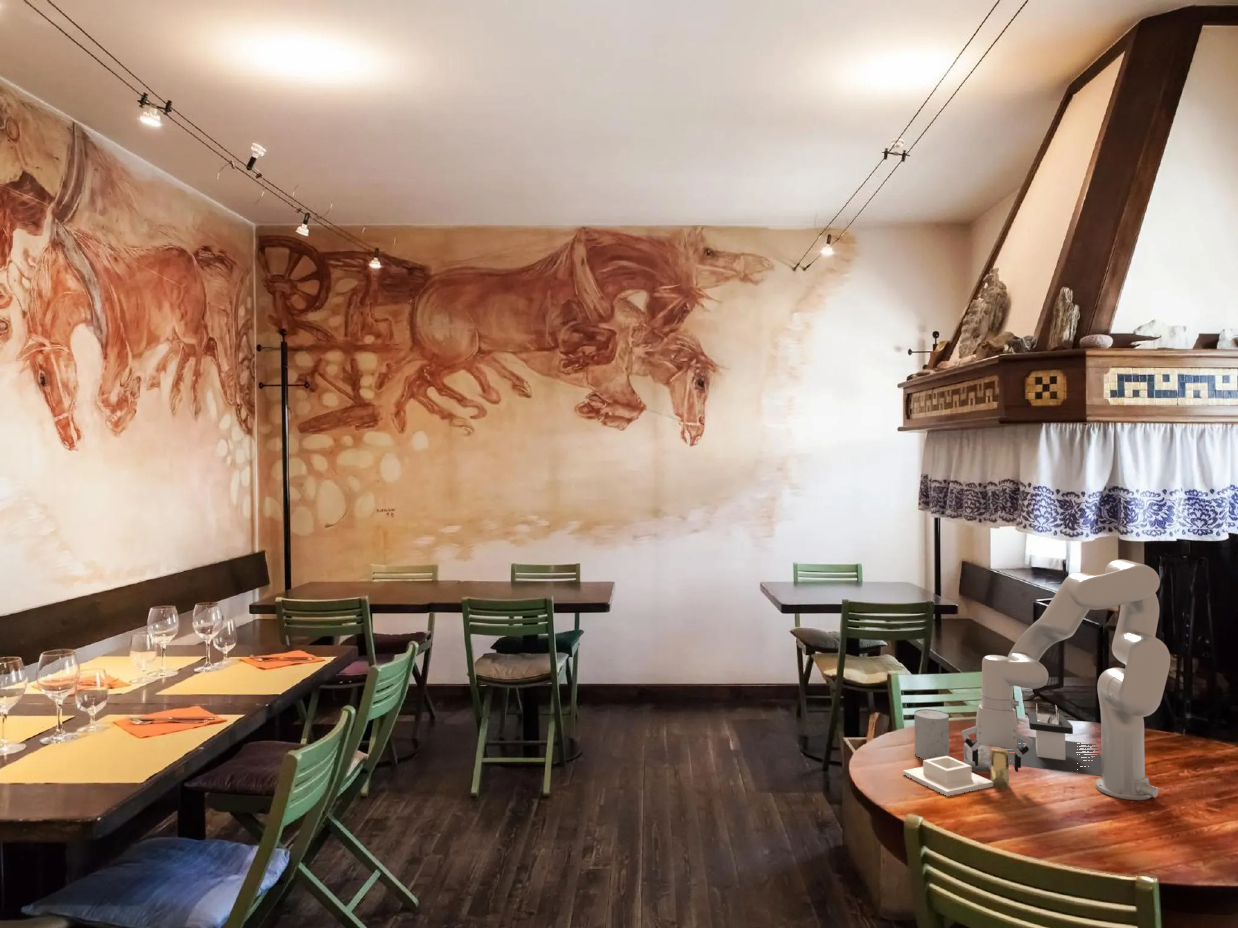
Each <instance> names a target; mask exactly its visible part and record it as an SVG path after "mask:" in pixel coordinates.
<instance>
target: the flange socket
mask: <svg viewBox="0 0 1238 928" xmlns="http://www.w3.org/2000/svg"><path fill="white" fill-rule="evenodd" d="M972 771H973V770H972V766H970V765H968V764H966V763H964V761H962V760H961V761H960V760H958V759H956V758H954V757H951V756H950V755H949V756H942V757H937V758H932V759H927V760H923V759H922V766H918V767H915V768H909V769H903V770H902V775H903V776H904V775H906V776H907V777H906V776H905V777H906V778H908V777H909V779H910V778H912V779H911V780H913V781H915V782H917V783H918V784H920V785H923V786H925V787H927V786H928V787H927V788H929V789H931V790H933V789H934V790H933V791H935V792H937V793H939V792H940V794H941V795H943V794H944V795H943V796H945V795H946V796H945V797H951V796H950V795H952V796H956V795H959V794H965V793H970V792H973V791H978V789H979V790H983V789H988V788H991V787H994V786H993V782H992V781H991V779H988V778H986V777H983V776H981V775H979V774H976V773H974V772H972ZM969 791H970V792H969ZM964 792H965V793H964ZM954 794H955V795H954Z"/></svg>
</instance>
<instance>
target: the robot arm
mask: <svg viewBox="0 0 1238 928" xmlns="http://www.w3.org/2000/svg"><path fill="white" fill-rule="evenodd" d="M1160 582H1161V580H1160V576H1159V575H1158V573H1157V571H1156V570H1155V569H1154V568H1152V567H1150V566H1149V565H1147V564H1142V563H1139V562H1136V561H1132V560H1128V559H1115V560H1112V561H1110V562H1109V563H1108V564H1107V565H1106V567H1105V571H1104V573H1103V574H1098V575H1092V574H1089V573H1087V572H1073V573H1071V574H1069V575H1068V576H1067V577H1065V579H1064V580H1063V582H1062V583H1061V585H1060V586H1059V588H1058V590H1056V592H1055V594H1054V596H1053V597H1052V599H1051V600H1050V602H1049V604H1048V605H1047V607H1046V609H1044V611H1043V613H1042V615H1041V616H1040V617H1039V619H1037V620H1035V622H1033V624H1031V625H1030V626H1029V627H1028V628H1026V630H1025V631H1024V632H1023V633H1021V635H1020V636H1019V638H1018V639H1017V640H1016V642H1015V644H1013V646H1012V647H1011V650H1010V651H1009V653H1008V655H1007V656H1005V655H997V654H988V655H985V656H984V657H983V658H982V661H981V703H980V704H978V707H977V711H976V717H975V725H974V726H972V727H968V728H965V729H963V730H961V736H962V738H963V740H964V741H965V742H964V743H967V744H968V746H969V747H970V748H971V749H972V761H974V762H975V766H978V748H979V747H980V746H981V745H986V746H990V747H994V748H995V747H996V748H1000V749H1001V748H1009V749H1013V751H1014V752H1015V754H1014V766H1013V767H1014V771H1015V772H1017V773H1018V772H1019V769H1020V768H1022V766H1021V757H1022V755H1024V754H1025V753H1026V752H1028V751H1029V748H1030V747H1031V746H1032V744H1033V740H1032V739H1030V738H1028V737H1027V736H1028V735H1025V734H1023V733H1022V732H1020V731H1018V718H1017V711H1016V708H1014V707H1019V706H1020V702H1019V700H1015V699H1014V698H1013V697H1014V695H1013V693H1014V687H1019V688H1024V689H1029V690H1030V689H1031V690H1036V689H1040V688H1042V687H1044V686H1045V685H1047V683H1048V680H1049V672H1048V670H1047V668H1046V667H1045V666H1044V664H1042V663H1041V662H1040V659H1041V658H1042V656H1043V655H1044V654H1045V653H1046V651H1047V650H1048V649H1049V648H1050V647H1051V646H1053V645H1054V644H1056V643H1058V642H1061V641H1064V640H1066V639H1069V638H1071V637H1073V636H1074V634H1075V633H1076V631H1077V629H1078V628H1079V627H1080V625H1081V624H1082V622H1083V620H1084V618H1085V617H1086V616H1087V614H1088V613H1089V611H1090V610H1098V611H1099V610H1104V609H1105V610H1106V609H1110V608H1115V607H1118V606H1120V609H1119V610H1120V611H1119V616H1118V620H1117V624H1116V628H1115V633H1114V634H1113V635H1114V636H1113V640H1112V645H1111V651H1112V654H1113V656H1114V657H1115V658H1116V660H1117V661H1119V662H1120V663H1122V664H1124V665H1125V668H1122V667H1112V668H1108V669H1105V670H1104V671H1103V672H1102V673H1101V674H1100V675H1099V678H1098V680H1097V685H1096V687H1097V695H1098V701H1099V702H1098V703H1099V709H1100V724H1101V725H1100V727H1101V728H1100V734H1101V735H1100V736H1101V737H1100V738H1101V740H1100V741H1101V742H1100V743H1101V745H1100V746H1101V747H1100V749H1101V751H1100V752H1101V754H1100V755H1101V759H1102V776H1101V777H1100V778H1097V779H1096V780H1095V782H1094V786H1095V788H1096V789H1097V790H1098V791H1099V792H1101V793H1103V794H1105V795H1108V796H1111V797H1114V798H1117V799H1123V800H1131V801H1144V800H1149V799H1151V798H1157V796H1158V793H1159V792H1160V788H1159V787H1156V786H1154V785H1151V784H1150V778H1148V777H1146V773H1145V765H1146V764H1145V721H1144V717H1149V716H1151V715H1153V713H1155V712H1156V711H1157V710H1158V708H1159V707H1160V705H1161V702H1162V699H1163V696H1164V695H1163V694H1164V691H1165V687H1166V684H1167V681H1168V675H1169V671H1170V667H1171V654H1170V651H1169V649H1168V647H1167V645H1166V644H1165V643H1164V642H1163V641H1162V640H1160V639H1159V638H1157V637H1156V635H1157V634H1156V633H1157V629H1158V624H1159V619H1160V603H1159V598H1158V597H1157V596H1158V595H1157V594H1156V593H1157V592H1158V590H1159V588H1160V584H1161V583H1160ZM972 734H975V740H974V741H973V740H971V739H970V737H969V735H972ZM1018 738H1019V739H1021V740H1023V741H1025V742H1026V743H1025V745H1024V746H1023V747H1021V748H1019V747H1018Z"/></svg>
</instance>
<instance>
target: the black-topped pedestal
mask: <svg viewBox="0 0 1238 928" xmlns="http://www.w3.org/2000/svg"><path fill="white" fill-rule="evenodd" d="M1035 704H1036V705H1035V707H1036V709H1035V710H1036V711H1029V712H1028V713H1027V714H1028V726H1029V727H1028V728H1029V729H1030V730H1032V731H1035V736H1028V735H1026V736H1027V737H1028V738H1030V739H1032V740H1033V744H1032V746H1031V747H1030V748H1029V751H1028V752H1026V753H1025V754H1024V755H1022V757H1021V767H1022V766H1023V767H1028V768H1029V767H1030V768H1037V769H1045V770H1053V771H1060V772H1067V773H1076V774H1084V775H1091V776H1097V777H1098V776H1099V777H1102V755H1101V754H1100V751H1099V747H1098V746H1097V747H1092V748H1098V750H1095V751H1099V753H1076V752H1082V751H1086V752H1087V751H1089V752H1093V751H1094V750H1079V749H1080V748H1084V749H1085V748H1086V749H1087V748H1090V747H1079V746H1081V745H1086V746H1088V745H1089V746H1092V745H1097V744H1096V743H1089V744H1081V743H1082V742H1079V741H1070V740H1066V735H1073V732H1074V729H1073V728H1074V726H1073V724H1072V723H1071V722H1070V721H1069V720H1067V718H1066V717H1065V716H1064V715H1063V714H1059V710H1058V707H1057V705H1056V704H1054V705H1052V704H1043V703H1035ZM1018 743H1021V744H1018V747H1019V748H1021V747H1023V746H1024V745H1025V744H1023V743H1026V742H1025V741H1023V740H1021V739H1019V738H1018ZM1077 743H1080V744H1077ZM1077 746H1078V747H1077ZM1003 749H1009V748H1003ZM1077 749H1078V750H1077ZM1007 751H1008V752H1014V751H1013V750H1007ZM1014 754H1015V753H1009V765H1014ZM1077 754H1078V755H1077ZM1079 754H1080V755H1079ZM1084 754H1098V755H1084ZM1091 756H1095V757H1093V758H1092V757H1091ZM1081 757H1087V758H1081ZM1088 757H1090V758H1088ZM1010 760H1011V761H1010ZM1083 760H1087V761H1083ZM1088 760H1090V761H1088ZM1091 760H1093V761H1091ZM1077 763H1078V764H1077ZM1080 766H1083V767H1080ZM1084 766H1086V767H1084ZM1088 766H1089V767H1088ZM1077 769H1078V770H1077Z"/></svg>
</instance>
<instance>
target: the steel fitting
mask: <svg viewBox="0 0 1238 928" xmlns="http://www.w3.org/2000/svg"><path fill="white" fill-rule="evenodd" d="M990 750H991V746H986V745H981V746H980V747H979V748H978V766H975V762H974V761H972V749H971V748H970V747H969V746H968V744H967V743H966V742H964V743H963V763H966V764H968V765H970V766H972V771H973V772H979V771H985V772H989V771H991V765H990Z"/></svg>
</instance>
